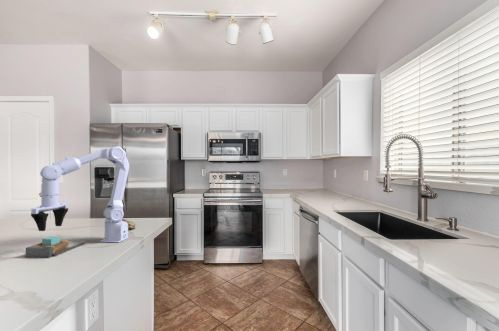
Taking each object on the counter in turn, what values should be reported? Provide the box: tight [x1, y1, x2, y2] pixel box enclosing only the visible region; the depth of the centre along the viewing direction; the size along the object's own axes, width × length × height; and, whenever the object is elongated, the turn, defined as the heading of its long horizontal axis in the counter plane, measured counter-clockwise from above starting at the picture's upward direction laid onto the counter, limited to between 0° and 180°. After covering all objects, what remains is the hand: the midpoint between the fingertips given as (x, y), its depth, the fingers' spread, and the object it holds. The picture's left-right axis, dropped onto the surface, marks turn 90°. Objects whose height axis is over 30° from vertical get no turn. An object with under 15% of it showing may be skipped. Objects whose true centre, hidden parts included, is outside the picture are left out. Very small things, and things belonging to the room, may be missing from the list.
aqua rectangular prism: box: [41, 235, 61, 246], centre depth 99 cm, size 4×4×6 cm
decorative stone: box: [122, 218, 136, 230], centre depth 139 cm, size 10×4×15 cm
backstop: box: [25, 241, 85, 259], centre depth 102 cm, size 12×16×4 cm
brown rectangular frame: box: [30, 239, 70, 256], centre depth 99 cm, size 9×8×4 cm
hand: (50, 228), depth 99 cm, fingers open, 7 cm apart
